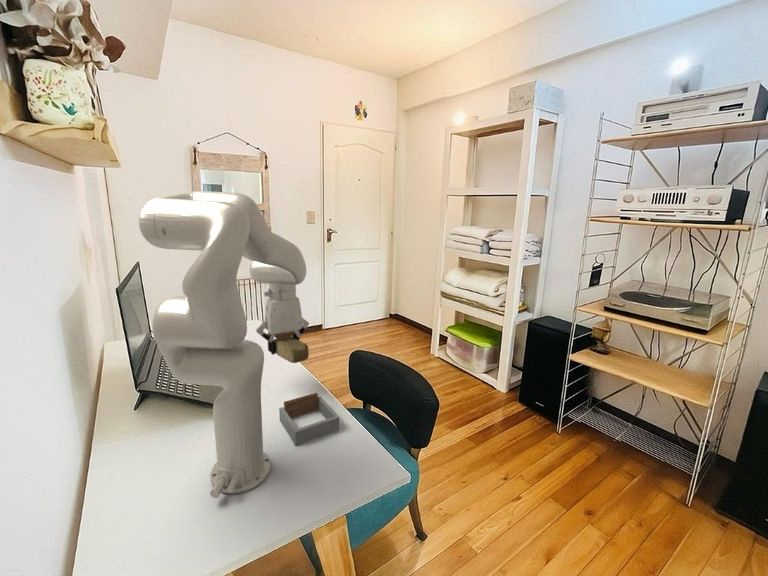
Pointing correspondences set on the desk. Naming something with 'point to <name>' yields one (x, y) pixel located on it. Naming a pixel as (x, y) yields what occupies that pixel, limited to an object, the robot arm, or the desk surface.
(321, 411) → the grey open square tray
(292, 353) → the stone block
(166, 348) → the robot arm
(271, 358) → the desk surface
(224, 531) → the desk surface
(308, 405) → the wooden board
